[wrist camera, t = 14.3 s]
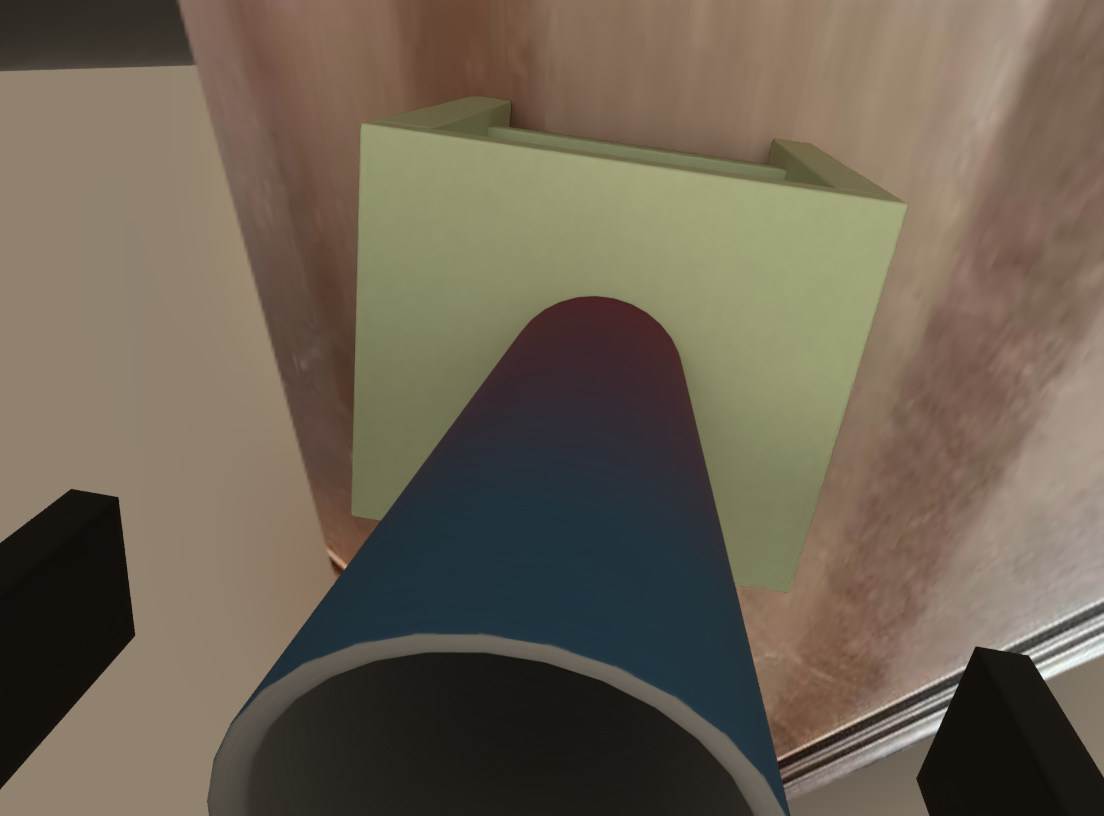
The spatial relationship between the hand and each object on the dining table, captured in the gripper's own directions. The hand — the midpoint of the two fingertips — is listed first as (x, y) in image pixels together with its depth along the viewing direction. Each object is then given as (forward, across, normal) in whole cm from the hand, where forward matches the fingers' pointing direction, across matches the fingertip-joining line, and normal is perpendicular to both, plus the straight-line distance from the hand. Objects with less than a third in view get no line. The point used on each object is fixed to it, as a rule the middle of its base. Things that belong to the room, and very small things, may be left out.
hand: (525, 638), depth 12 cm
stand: (+25, 0, 0) cm, 25 cm away
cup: (+11, 0, 0) cm, 11 cm away
